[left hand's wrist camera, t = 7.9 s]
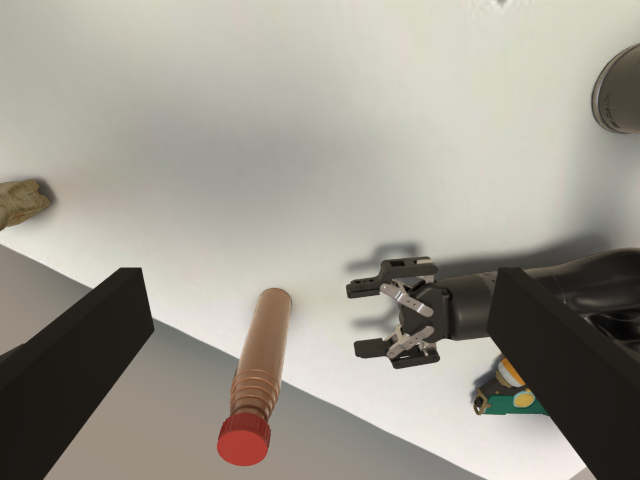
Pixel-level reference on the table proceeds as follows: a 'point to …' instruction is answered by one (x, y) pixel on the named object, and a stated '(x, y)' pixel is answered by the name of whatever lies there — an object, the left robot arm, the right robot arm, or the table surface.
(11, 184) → the sculpture
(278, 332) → the bottle
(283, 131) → the table surface
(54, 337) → the left robot arm
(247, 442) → the cap
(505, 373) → the spray gun
